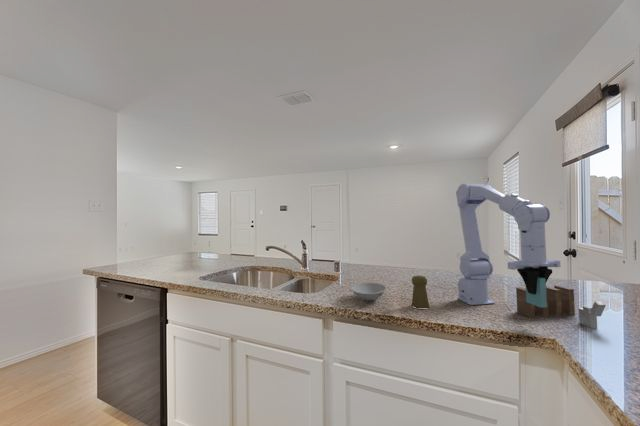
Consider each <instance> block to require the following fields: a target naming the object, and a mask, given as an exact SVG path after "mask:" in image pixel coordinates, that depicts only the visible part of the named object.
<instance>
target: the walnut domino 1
mask: <svg viewBox="0 0 640 426" xmlns="http://www.w3.org/2000/svg"><path fill="white" fill-rule="evenodd" d="M515 289H516V290H515V291H516V295H515V296H516V312H517V313H519V314H521V315H523V316H526V317H527V318H536V313H535V308H534V305H533V304H530V303H528V302H526V288H524V287H516V288H515Z"/></svg>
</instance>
